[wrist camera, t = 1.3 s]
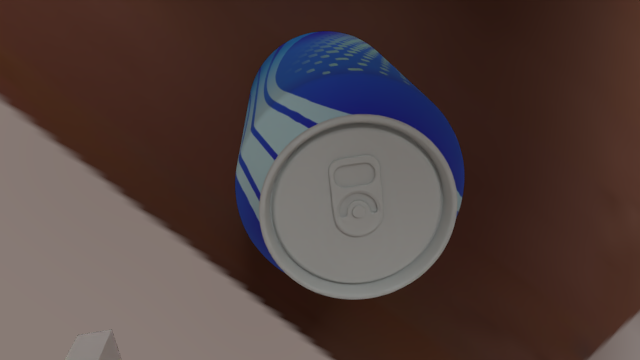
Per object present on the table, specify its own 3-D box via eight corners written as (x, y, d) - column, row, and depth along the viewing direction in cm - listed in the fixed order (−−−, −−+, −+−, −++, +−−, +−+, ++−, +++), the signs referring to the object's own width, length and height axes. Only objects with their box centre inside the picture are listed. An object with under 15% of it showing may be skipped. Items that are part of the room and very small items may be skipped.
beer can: (423, 79, 35) (536, 172, 20) (344, 196, 37) (391, 359, 22) (299, -2, 33) (320, 32, 18) (223, 126, 35) (183, 254, 20)
